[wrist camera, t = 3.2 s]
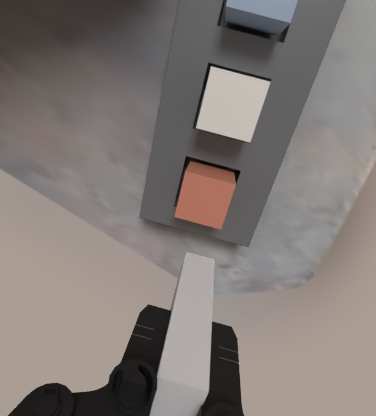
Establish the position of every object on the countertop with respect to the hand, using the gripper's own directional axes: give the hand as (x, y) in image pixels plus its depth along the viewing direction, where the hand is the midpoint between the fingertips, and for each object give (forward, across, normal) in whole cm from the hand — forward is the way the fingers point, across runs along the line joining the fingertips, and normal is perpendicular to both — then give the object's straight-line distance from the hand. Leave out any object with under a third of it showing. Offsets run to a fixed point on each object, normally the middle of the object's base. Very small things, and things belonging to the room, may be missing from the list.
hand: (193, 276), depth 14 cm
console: (+17, 0, +8) cm, 19 cm away
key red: (+14, 0, 0) cm, 14 cm away
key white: (+14, 0, +8) cm, 16 cm away
